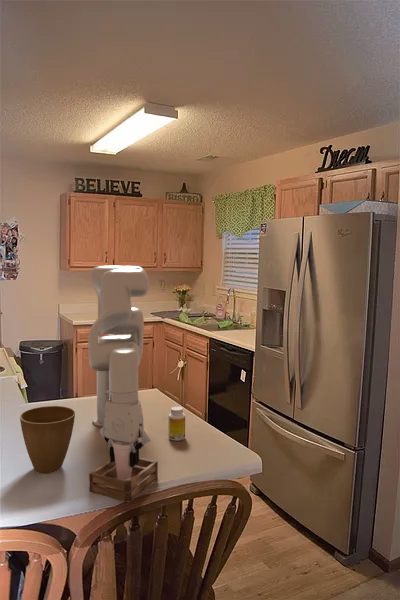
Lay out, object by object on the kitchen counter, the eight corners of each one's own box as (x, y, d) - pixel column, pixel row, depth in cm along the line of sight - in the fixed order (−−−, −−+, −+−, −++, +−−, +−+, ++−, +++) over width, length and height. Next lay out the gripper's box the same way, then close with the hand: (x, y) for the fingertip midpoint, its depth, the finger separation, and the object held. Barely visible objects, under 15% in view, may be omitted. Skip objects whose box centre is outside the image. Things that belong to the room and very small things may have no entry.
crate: (120, 470, 136) (120, 453, 135) (157, 478, 130) (157, 461, 130) (89, 492, 123) (89, 473, 123) (128, 502, 118) (128, 483, 117)
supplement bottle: (187, 440, 158) (187, 410, 157) (171, 442, 156) (171, 411, 155) (182, 434, 163) (182, 405, 162) (166, 436, 161) (166, 406, 160)
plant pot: (23, 484, 127) (21, 425, 125) (19, 462, 140) (18, 408, 139) (80, 474, 133) (79, 418, 131) (71, 453, 146) (71, 403, 145)
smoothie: (113, 470, 130) (113, 420, 128) (136, 470, 130) (137, 420, 129) (110, 482, 123) (110, 429, 122) (135, 481, 124) (136, 429, 122)
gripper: (88, 395, 125) (89, 462, 127) (144, 404, 118) (144, 475, 119) (105, 388, 132) (106, 451, 133) (159, 396, 124) (159, 463, 126)
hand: (124, 462), depth 126 cm, fingers closed on smoothie, 5 cm apart
